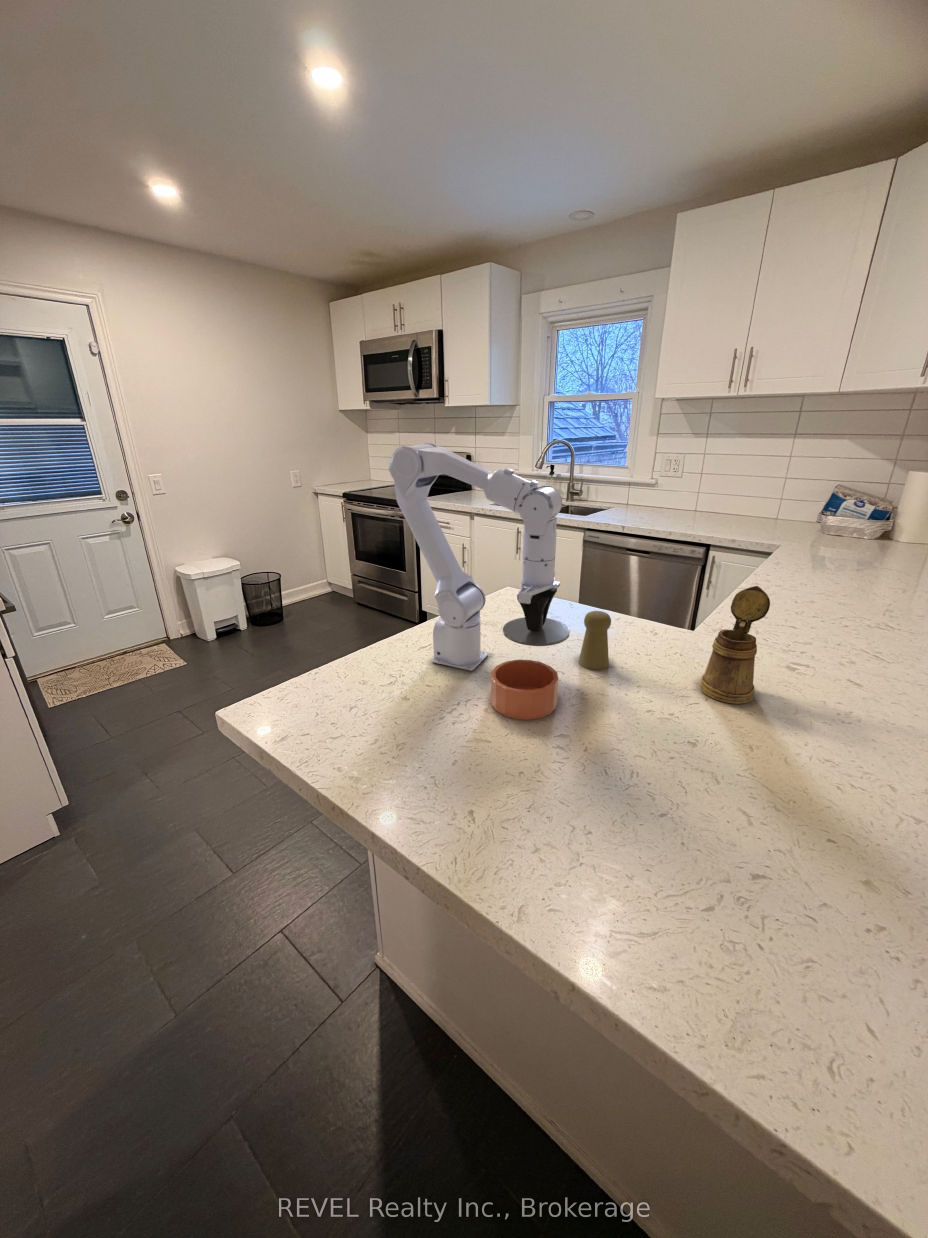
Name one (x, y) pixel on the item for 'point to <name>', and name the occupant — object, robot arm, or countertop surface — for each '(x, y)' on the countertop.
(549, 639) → the lid
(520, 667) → the terracotta bowl
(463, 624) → the robot arm
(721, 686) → the wooden mug
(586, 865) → the countertop surface
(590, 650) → the olive green pepper mill
